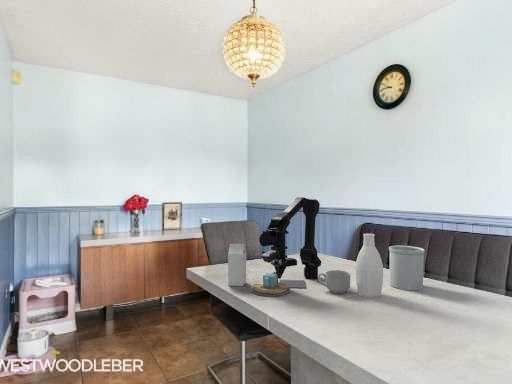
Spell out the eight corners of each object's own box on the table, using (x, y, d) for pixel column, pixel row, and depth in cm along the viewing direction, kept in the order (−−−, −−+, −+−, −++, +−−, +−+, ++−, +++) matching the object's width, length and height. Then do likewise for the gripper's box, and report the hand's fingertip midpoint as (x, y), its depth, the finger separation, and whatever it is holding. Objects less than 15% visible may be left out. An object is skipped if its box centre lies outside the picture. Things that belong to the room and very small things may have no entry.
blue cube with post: (266, 284, 146) (266, 273, 146) (277, 285, 144) (277, 274, 144) (260, 289, 139) (260, 277, 139) (271, 290, 137) (271, 278, 137)
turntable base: (289, 285, 151) (289, 283, 151) (290, 296, 134) (290, 295, 134) (253, 284, 152) (253, 283, 152) (249, 296, 135) (249, 294, 135)
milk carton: (242, 286, 149) (242, 245, 149) (228, 285, 150) (227, 245, 150) (246, 282, 156) (246, 243, 156) (232, 281, 157) (232, 242, 157)
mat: (304, 281, 157) (304, 280, 157) (306, 288, 146) (306, 287, 146) (279, 280, 158) (279, 279, 158) (279, 287, 147) (279, 287, 147)
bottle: (363, 288, 144) (362, 231, 144) (388, 294, 136) (387, 234, 136) (350, 294, 136) (350, 234, 136) (376, 300, 128) (375, 236, 128)
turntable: (260, 281, 153) (260, 270, 153) (292, 285, 147) (292, 273, 147) (246, 291, 138) (246, 279, 138) (282, 295, 132) (282, 282, 132)
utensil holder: (429, 285, 148) (428, 247, 148) (418, 293, 137) (418, 252, 137) (396, 280, 158) (395, 244, 158) (384, 286, 147) (383, 248, 147)
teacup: (352, 289, 143) (352, 271, 144) (348, 296, 134) (348, 277, 134) (321, 285, 149) (321, 268, 149) (315, 292, 140) (315, 274, 140)
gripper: (253, 243, 151) (253, 276, 151) (277, 248, 135) (277, 285, 135) (272, 241, 157) (272, 273, 157) (297, 246, 141) (298, 281, 141)
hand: (279, 278), depth 147 cm, fingers closed
